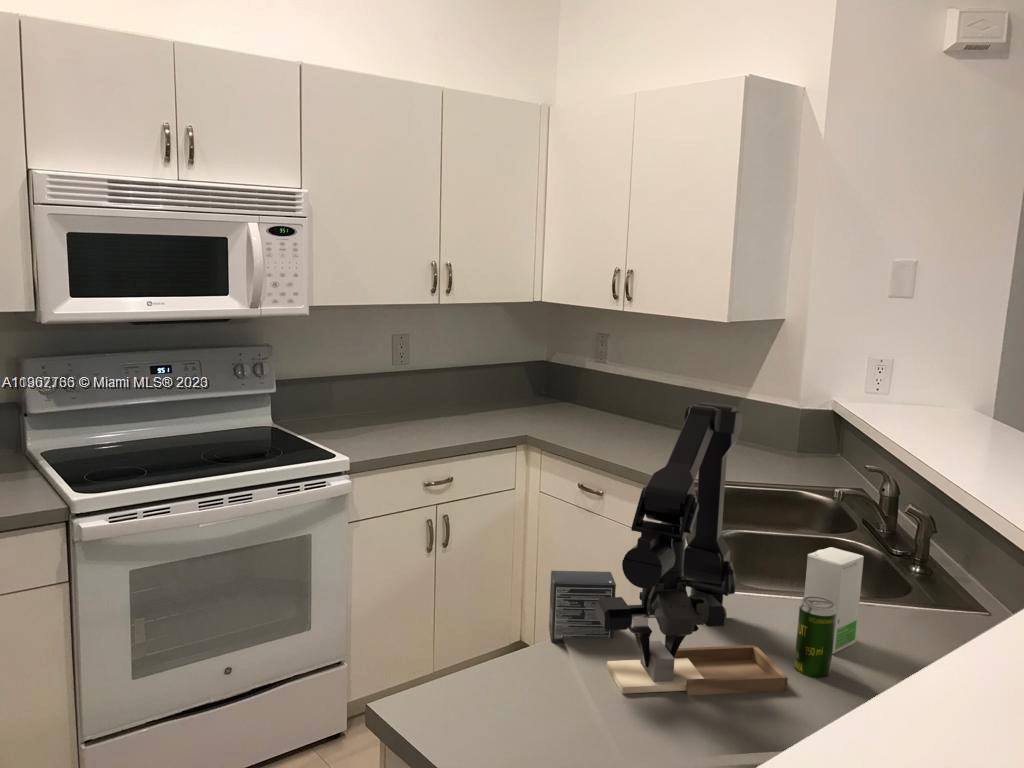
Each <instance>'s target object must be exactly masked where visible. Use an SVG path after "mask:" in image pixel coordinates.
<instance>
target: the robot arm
mask: <svg viewBox="0 0 1024 768" xmlns="http://www.w3.org/2000/svg"><path fill="white" fill-rule="evenodd" d="M743 420H744V419H743V414H742V413H740V411H738V409H737V407H736V406H735V405H726V404H718V403H709V402H700V401H699V402H698V403H697V404H692V405H687V406H686V409H685V413H684V422H683V425H682V428H681V429H680V432H679V435H678V436H677V439H676V441H675V444H674V446H673V449H672V451H671V453H670V455H669V458H668V460H667V463H666V464H665V466H664V467H662V468H660V469H658V470H656V471H655V472H653V473H652V475H651V477H650V478H649V481H648V482H647V484H646V486H644V487H643V488H642V490H641V493H640V495H639V500H638V503H637V506H636V509H635V513H634V516H633V520H632V523H631V528H630V530H631V531H632V532H637V533H640V536H639V537H638V538H637V540H636V541H637V544H635V545H634V546H633V547H631V549H629V550H628V551H627V553H626V554H625V555H624V557H623V559H622V561H621V562H622V563H621V567H622V572H623V575H624V577H625V578H626V579H627V580H628V581H629V583H630V584H632V585H633V586H635V587H637V588H639V589H642V590H641V591H640V592H639V597H638V598H639V600H640V601H641V604H628V603H627V602H626V601H625V600H624V598H623V597H622V596H615V597H606V598H600V599H599V600H598V601H597V602H596V604H595V615H596V617H597V618H598V620H599V621H600V623H601V624H602V626H603V627H604V629H607V630H614V631H621V630H622V631H625V630H627V629H628V630H629V631H630V632H631V633H632V634H634V636H635V640H636V644H637V646H638V649H639V653H640V658H641V657H642V660H643V663H644V665H645V667H648V666H649V659H650V646H649V641H650V637H651V635H652V633H653V630H652V628H650V626H649V619H655V620H656V622H657V625H658V627H659V630H660V632H661V634H663V635H665V637H664V638H665V639H664V642H665V643H664V646H665V647H666V648H667V650H668V651H669V652H670V654H671V655H672V656H673V657H674V656H675V654H676V652H677V650H678V648H680V646H681V644H682V643H683V641H684V639H685V637H686V636H690V635H692V634H693V633H694V632H698V630H699V627H698V626H704V625H705V626H707V627H709V628H710V627H725V625H726V624H727V610H726V607H724V606H723V603H724V596H725V597H728V596H729V595H734V594H735V593H736V586H737V585H736V584H737V583H736V574H735V569H734V565H733V562H732V561H730V560H731V549H730V547H729V545H728V543H727V542H726V539H725V538H724V536H723V534H722V533H723V518H724V506H725V504H724V503H725V502H724V501H725V492H726V491H725V489H726V474H727V473H726V472H727V457H728V454H729V452H730V451H731V450H732V448H733V447H734V445H735V444H736V443H737V441H738V439H739V438H738V437H739V435H740V434H741V432H742V428H743ZM697 475H698V477H697ZM696 478H697V492H696V488H695V487H696V486H695V480H696ZM645 517H646V519H647V520H645V519H644V518H645ZM649 520H653V521H649ZM655 521H657V522H655ZM694 525H695V527H694ZM694 528H695V530H694V537H693V538H692V539H691V540H690V541H689V544H688V545H687V546H686V539H687V538H688V534H692V532H693V529H694ZM687 587H688V588H690V595H688V591H687Z"/></svg>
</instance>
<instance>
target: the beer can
mask: <svg viewBox="0 0 1024 768" xmlns="http://www.w3.org/2000/svg"><path fill="white" fill-rule="evenodd" d="M835 621H836V609H835V603H833V602H832V601H830V600H828V599H825V598H821V597H815V596H808V597H804V596H803V597H802V599H801V603H800V605H799V610H798V621H797V630H796V631H797V632H796V638H795V639H796V640H795V651H794V660H793V661H794V663H793V667H794V670H795V671H796V672H797V673H799V674H800V675H803V676H805V677H808V678H809V677H810V678H816V679H824V678H827V677H829V676H830V674H831V668H832V659H833V658H832V657H833V654H832V650H833V640H834V631H835Z"/></svg>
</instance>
